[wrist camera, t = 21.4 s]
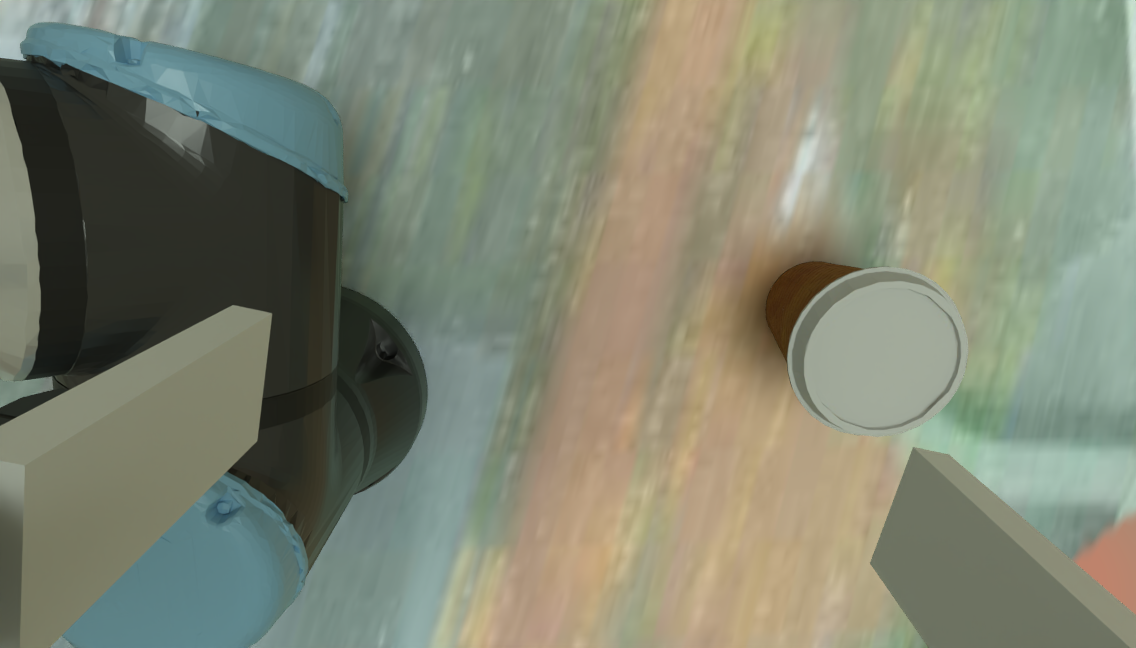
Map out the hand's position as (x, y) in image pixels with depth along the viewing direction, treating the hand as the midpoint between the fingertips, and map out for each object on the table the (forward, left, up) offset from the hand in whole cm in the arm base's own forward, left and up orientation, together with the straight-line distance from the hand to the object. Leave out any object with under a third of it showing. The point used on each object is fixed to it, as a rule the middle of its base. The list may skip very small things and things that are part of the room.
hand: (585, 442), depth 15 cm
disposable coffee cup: (+17, -2, -35) cm, 39 cm away
